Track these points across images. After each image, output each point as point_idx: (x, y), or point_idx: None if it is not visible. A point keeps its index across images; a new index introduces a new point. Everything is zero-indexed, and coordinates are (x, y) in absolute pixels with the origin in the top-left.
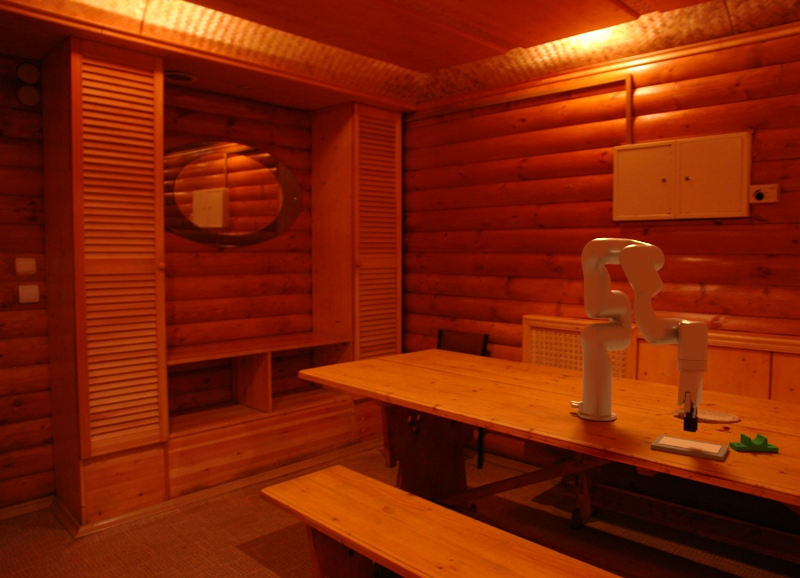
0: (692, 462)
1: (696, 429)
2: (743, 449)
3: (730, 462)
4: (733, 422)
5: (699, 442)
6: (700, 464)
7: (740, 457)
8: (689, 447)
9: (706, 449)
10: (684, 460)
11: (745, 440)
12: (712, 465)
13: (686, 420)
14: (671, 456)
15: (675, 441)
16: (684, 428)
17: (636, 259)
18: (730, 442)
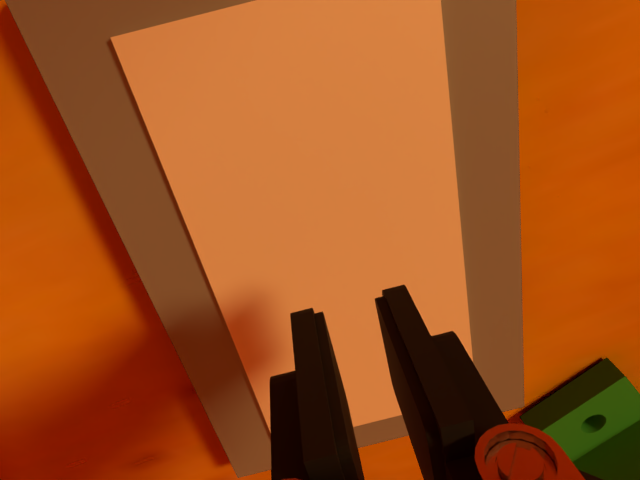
0: (36, 380)
1: (395, 395)
2: None
3: (257, 476)
4: None
5: (458, 280)
6: (50, 419)
7: (400, 465)
8: (244, 296)
9: None
10: (21, 335)
11: (614, 477)
12: (104, 457)
13: (274, 460)
14: (11, 238)
15: (332, 137)
16: (296, 333)
17: None
18: (617, 383)
